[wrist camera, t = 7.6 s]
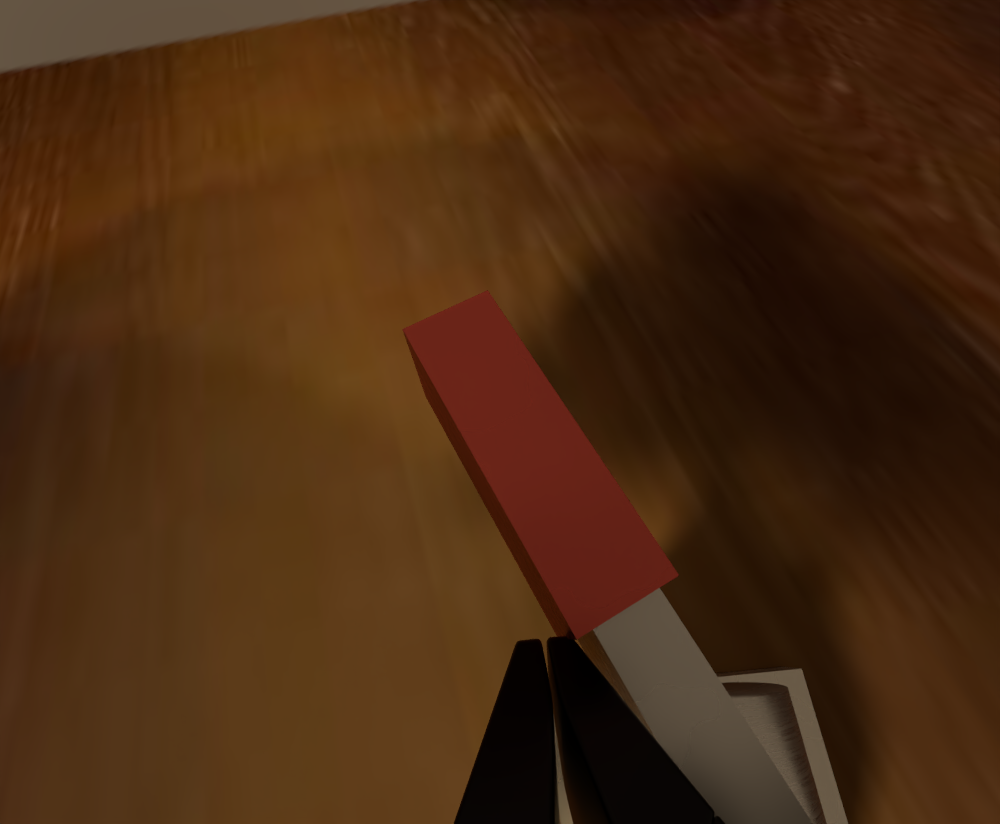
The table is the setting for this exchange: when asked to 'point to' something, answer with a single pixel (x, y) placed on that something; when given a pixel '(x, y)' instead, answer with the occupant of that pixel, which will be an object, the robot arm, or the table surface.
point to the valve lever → (589, 553)
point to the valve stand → (775, 738)
